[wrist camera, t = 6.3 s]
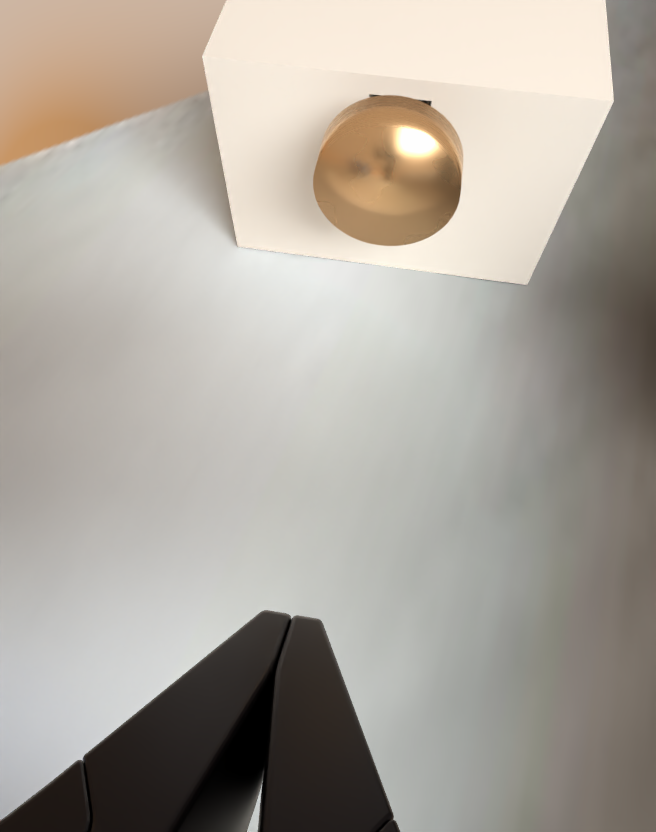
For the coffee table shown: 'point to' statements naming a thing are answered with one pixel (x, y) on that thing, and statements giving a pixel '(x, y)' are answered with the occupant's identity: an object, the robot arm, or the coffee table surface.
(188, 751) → the robot arm
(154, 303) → the coffee table surface
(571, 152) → the press block
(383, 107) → the plunger
